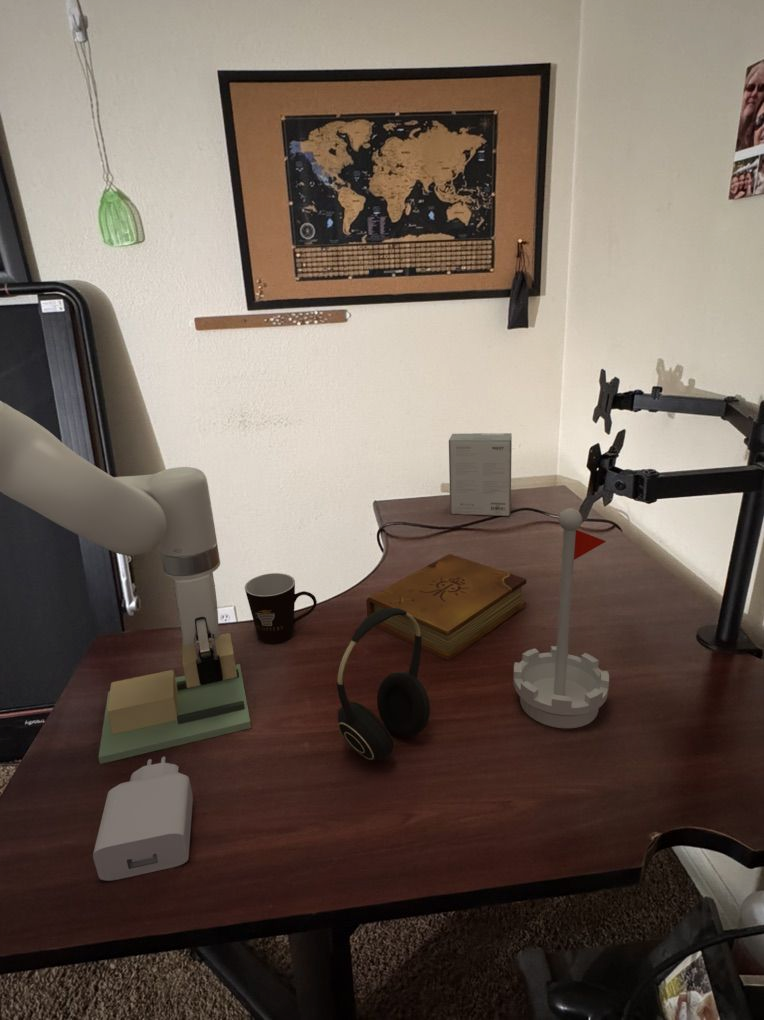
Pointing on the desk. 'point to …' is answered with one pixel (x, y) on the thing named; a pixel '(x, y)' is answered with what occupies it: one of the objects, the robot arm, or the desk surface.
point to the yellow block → (223, 651)
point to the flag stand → (563, 654)
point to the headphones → (384, 700)
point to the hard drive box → (480, 473)
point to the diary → (449, 604)
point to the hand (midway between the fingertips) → (210, 667)
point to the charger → (145, 823)
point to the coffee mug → (274, 606)
